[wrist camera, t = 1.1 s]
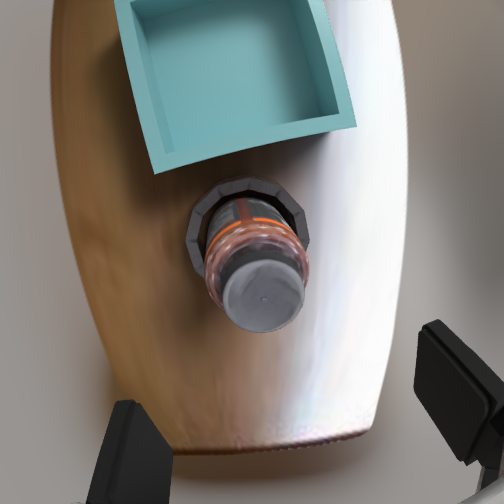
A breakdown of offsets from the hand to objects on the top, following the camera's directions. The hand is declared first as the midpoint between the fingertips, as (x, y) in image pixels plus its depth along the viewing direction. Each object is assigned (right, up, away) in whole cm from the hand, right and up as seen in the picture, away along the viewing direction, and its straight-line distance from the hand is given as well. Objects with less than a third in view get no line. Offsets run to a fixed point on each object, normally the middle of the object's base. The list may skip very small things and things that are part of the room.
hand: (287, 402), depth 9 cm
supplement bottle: (-2, +6, +16) cm, 18 cm away
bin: (-3, +19, +12) cm, 22 cm away
